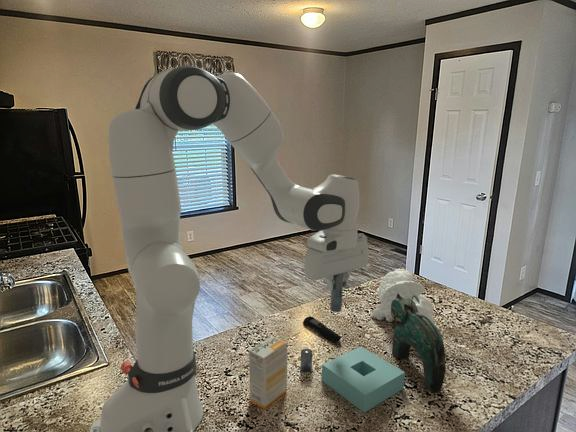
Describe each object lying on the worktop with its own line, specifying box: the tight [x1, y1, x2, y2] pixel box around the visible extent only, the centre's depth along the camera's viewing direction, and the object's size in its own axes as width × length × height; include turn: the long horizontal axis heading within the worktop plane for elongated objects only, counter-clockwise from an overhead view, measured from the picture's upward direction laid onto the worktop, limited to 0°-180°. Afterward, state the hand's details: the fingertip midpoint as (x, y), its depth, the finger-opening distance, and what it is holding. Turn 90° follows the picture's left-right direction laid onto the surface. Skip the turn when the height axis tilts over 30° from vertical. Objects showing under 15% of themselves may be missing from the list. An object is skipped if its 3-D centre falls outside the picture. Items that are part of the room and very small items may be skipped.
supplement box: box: [248, 335, 288, 410], centre depth 90 cm, size 8×5×13 cm, turn 141°
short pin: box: [300, 347, 313, 373], centre depth 101 cm, size 3×3×5 cm
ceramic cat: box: [391, 294, 447, 393], centre depth 100 cm, size 20×6×20 cm, turn 15°
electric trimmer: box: [302, 315, 342, 343], centre depth 120 cm, size 4×16×3 cm, turn 35°
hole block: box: [321, 346, 406, 413], centre depth 95 cm, size 14×14×4 cm
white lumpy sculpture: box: [370, 267, 435, 324], centre depth 128 cm, size 19×20×20 cm
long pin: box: [329, 273, 344, 313], centre depth 103 cm, size 3×3×12 cm
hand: (336, 288), depth 103 cm, fingers closed on long pin, 3 cm apart
